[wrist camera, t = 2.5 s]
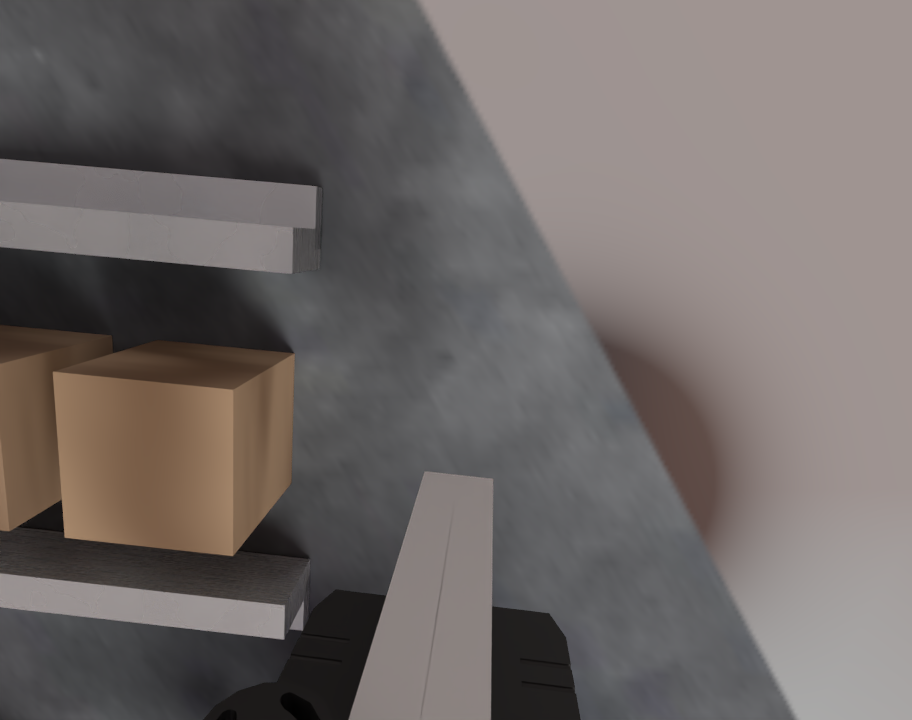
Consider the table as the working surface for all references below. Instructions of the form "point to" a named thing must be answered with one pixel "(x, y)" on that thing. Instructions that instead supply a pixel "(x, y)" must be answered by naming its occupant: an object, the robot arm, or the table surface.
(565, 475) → the table surface
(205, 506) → the brown shipping carton
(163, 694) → the table surface
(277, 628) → the slot rails
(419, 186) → the table surface
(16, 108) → the table surface
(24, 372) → the tan cardboard cube
